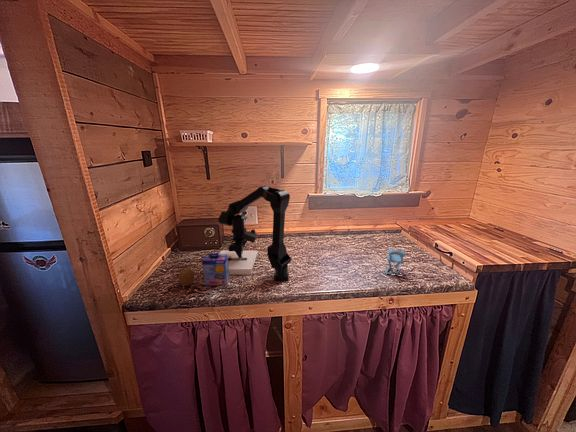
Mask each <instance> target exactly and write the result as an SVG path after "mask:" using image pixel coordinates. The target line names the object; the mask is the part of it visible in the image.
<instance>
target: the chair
mask: <svg viewBox="0 0 576 432" xmlns="http://www.w3.org/2000/svg"><path fill="white" fill-rule="evenodd" d="M405 255H406V250H404V249H400V250H397V249H395V250H393V249H392V247H389V248H388V254H387V261H388V262H387V263H388V265H389V266H388V267H387V268H386V269H385V272H384V274H385V273H387V274H395V275H401V274H402V276H403V277H404V273H403V272H402V271H401V270H400V269H399V266H400V264H401V265H402V264H404V263H405V261H404V258H405ZM392 263H397V264H395V266H394V269H395V268H396V269H397V270H398V271H399V272H400V273H401V274H399V273H395V272H394V273H393V272H390V270H391V269H392ZM390 268H391V269H390ZM389 269H390V270H389ZM396 269H395V270H396ZM388 270H389V272H388Z"/></svg>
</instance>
